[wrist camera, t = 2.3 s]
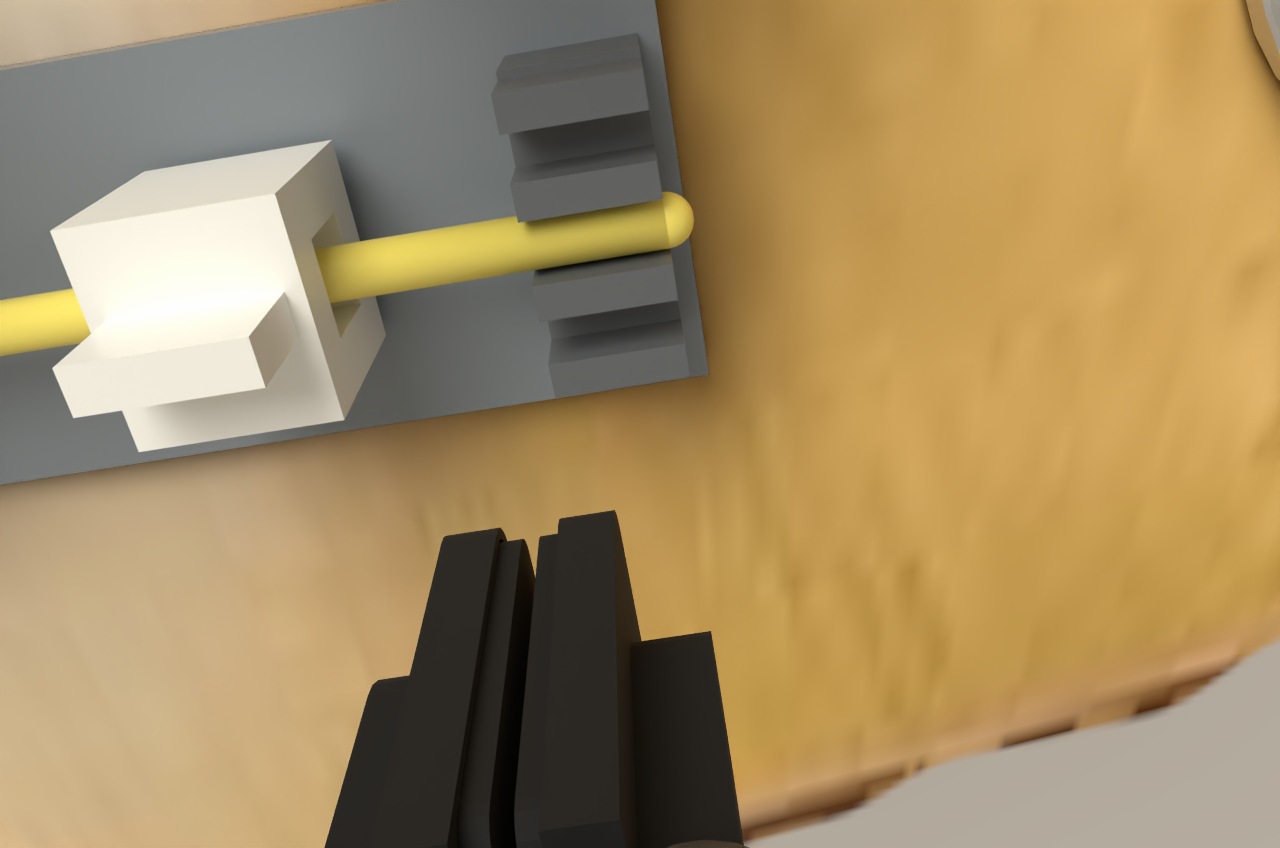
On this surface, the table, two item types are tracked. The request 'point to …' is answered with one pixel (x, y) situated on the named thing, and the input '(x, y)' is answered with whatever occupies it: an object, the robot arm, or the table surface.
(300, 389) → the sleeve
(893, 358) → the table surface
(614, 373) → the board
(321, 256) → the fibre cord
